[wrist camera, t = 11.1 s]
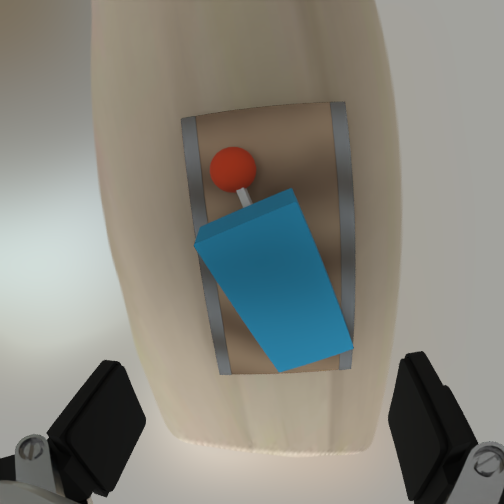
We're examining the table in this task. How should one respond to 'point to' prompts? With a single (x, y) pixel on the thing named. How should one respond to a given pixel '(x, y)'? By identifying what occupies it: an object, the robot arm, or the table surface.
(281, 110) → the ribbed board
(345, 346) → the lever
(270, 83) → the table surface
